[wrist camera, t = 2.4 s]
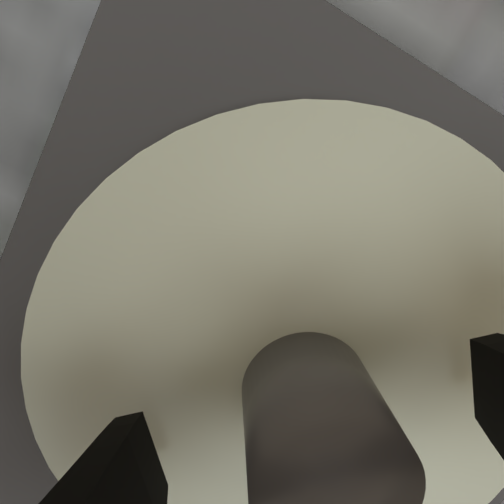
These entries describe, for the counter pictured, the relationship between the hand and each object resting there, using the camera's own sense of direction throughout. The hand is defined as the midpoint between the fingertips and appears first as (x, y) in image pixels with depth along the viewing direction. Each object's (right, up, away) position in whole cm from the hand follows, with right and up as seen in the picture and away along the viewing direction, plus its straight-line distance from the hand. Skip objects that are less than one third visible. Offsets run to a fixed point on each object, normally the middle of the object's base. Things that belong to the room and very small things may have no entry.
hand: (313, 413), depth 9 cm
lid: (0, 0, +1) cm, 2 cm away
